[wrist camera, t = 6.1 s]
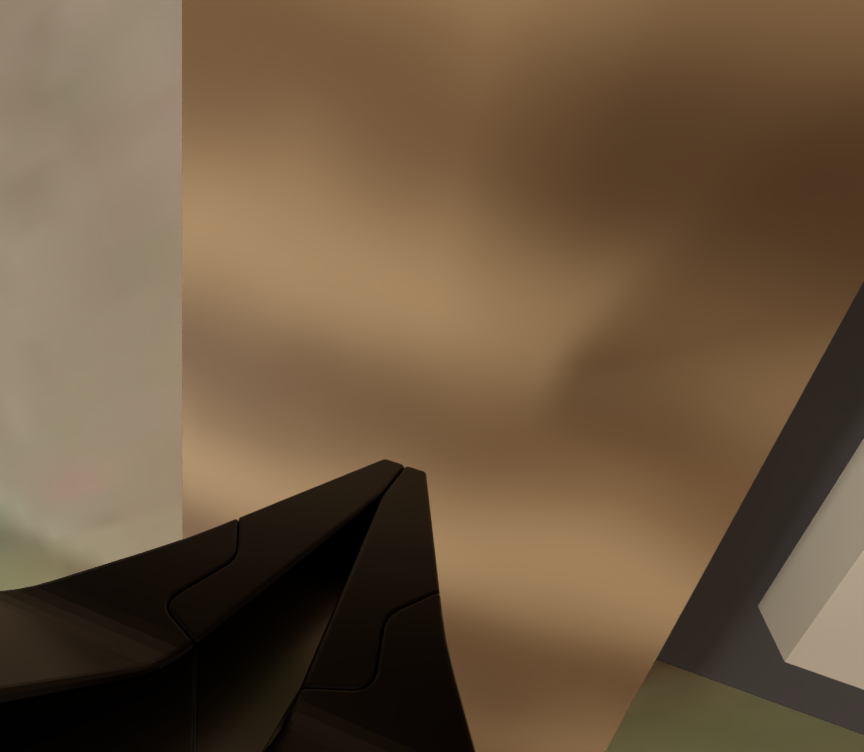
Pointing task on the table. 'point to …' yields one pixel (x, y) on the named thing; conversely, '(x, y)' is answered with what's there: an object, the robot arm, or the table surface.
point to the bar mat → (780, 544)
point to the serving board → (518, 296)
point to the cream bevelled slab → (825, 587)
